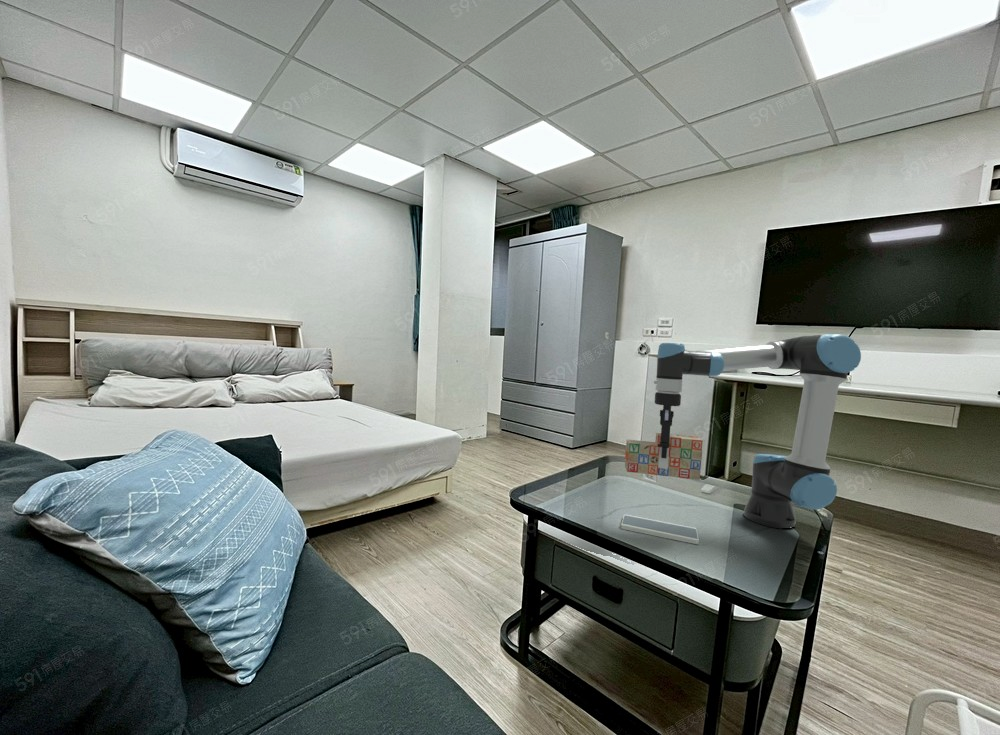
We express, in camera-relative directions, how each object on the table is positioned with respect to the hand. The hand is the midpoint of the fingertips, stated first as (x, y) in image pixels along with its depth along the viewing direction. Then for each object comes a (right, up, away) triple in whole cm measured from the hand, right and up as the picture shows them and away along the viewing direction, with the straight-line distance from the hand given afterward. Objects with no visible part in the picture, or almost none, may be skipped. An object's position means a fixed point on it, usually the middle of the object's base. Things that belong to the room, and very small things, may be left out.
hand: (663, 465), depth 127 cm
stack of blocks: (-1, -3, 0) cm, 3 cm away
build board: (-1, -21, 0) cm, 21 cm away
